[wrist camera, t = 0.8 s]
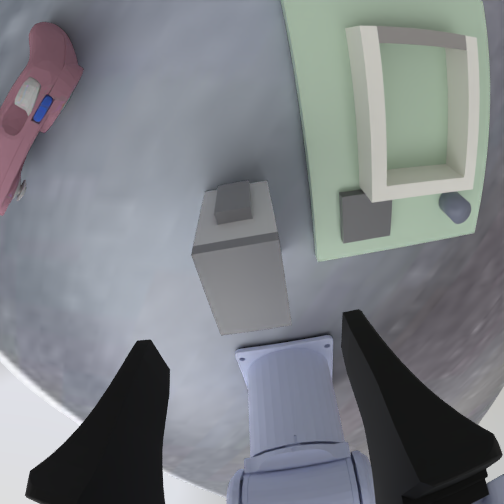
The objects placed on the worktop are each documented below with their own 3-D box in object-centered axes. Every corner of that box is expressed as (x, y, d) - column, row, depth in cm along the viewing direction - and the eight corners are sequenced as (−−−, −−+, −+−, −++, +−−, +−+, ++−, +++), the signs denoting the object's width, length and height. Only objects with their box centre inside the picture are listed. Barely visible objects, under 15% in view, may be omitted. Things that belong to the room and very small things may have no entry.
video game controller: (25, 166, 17) (8, 245, 13) (-26, 143, 14) (-60, 220, 10) (106, 47, 14) (97, 94, 10) (46, 10, 10) (5, 42, 6)
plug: (279, 253, 20) (291, 325, 15) (224, 262, 20) (221, 335, 15) (265, 170, 17) (277, 226, 12) (202, 181, 17) (186, 242, 12)
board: (468, 227, 19) (488, 248, 17) (315, 254, 20) (324, 283, 18) (474, 1, 10) (504, 1, 8) (277, -15, 11) (284, -29, 9)
